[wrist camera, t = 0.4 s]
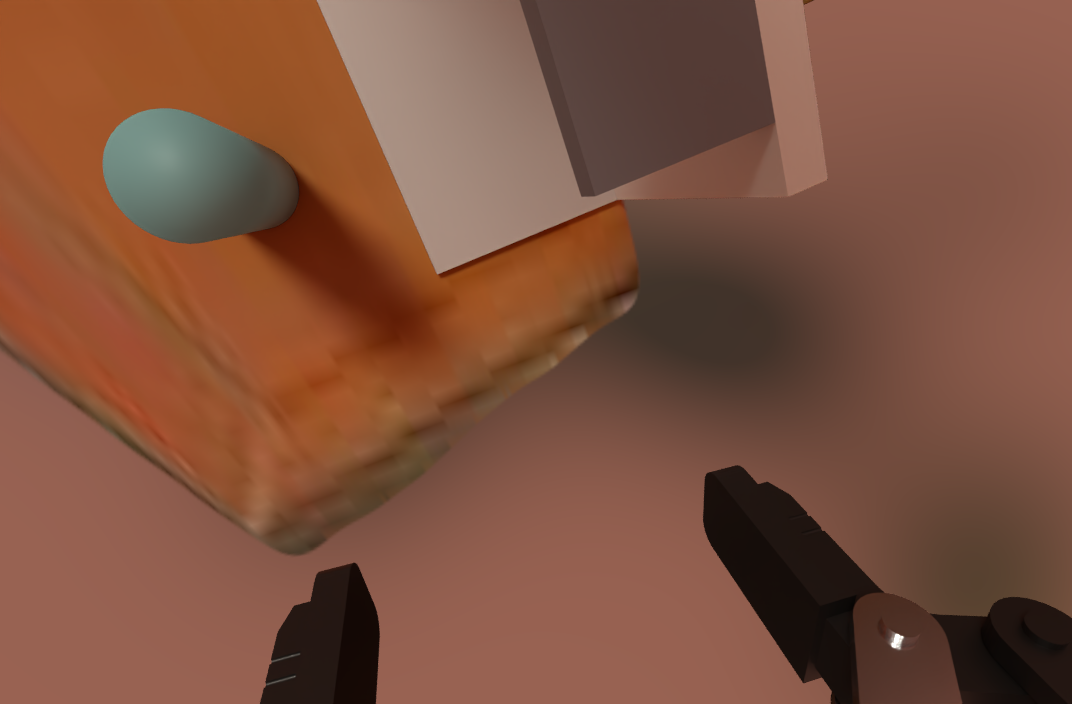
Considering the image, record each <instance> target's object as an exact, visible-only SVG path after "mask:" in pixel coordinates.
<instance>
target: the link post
mask: <svg viewBox="0 0 1072 704" xmlns="http://www.w3.org/2000/svg"><path fill="white" fill-rule="evenodd" d="M103 172H104V178H105V182H106V185H107V188H108V190H109V192H110V194H111V196H112V198H113V200H114V202H115V203H116V204H117V206H118V207H119V208H120V210H121V211H122V212H123V213H124V214H125V215H126V216H127V217H128V218H129V219H130V220H131V221H132V222H133V223H135V224H136V225H137V226H139V227H140V228H142V229H143V230H145V231H147V232H148V233H150V234H152V235H154V236H157V237H159V238H162V239H165V240H168V241H172V242H178V243H188V244H191V243H202V242H208V241H213V240H218V239H222V238H227V237H232V236H236V235H241V234H246V233H251V232H255V231H260V230H265V229H270V228H273V227H276V226H278V225H280V224H282V223H283V222H285V221H286V220H287V219H288V218H289V217H290V216H291V215H292V214H293V212H294V211H295V209H296V206H297V203H298V199H299V186H298V182H297V178H296V176H295V173H294V172H293V170H292V168H291V167H290V165H289V164H288V163H287V162H286V161H285V159H284V158H282V157H281V156H280V155H279V154H278V153H276V152H275V151H273V150H271V149H269V148H267V147H265V146H263V145H261V144H258V143H256V142H254V141H252V140H250V139H248V138H245V137H243V136H241V135H239V134H237V133H235V132H232V131H230V130H228V129H226V128H224V127H221V126H219V125H217V124H215V123H213V122H211V121H208V120H206V119H204V118H202V117H200V116H197V115H195V114H192V113H189V112H185V111H181V110H176V109H151V110H147V111H143V112H140V113H137V114H135V115H133V116H131V117H129V118H128V119H126V120H124V121H123V122H122V123H121V124H120V125H119V126H118V127H117V128H116V129H115V130H114V131H113V133H112V134H111V136H110V138H109V139H108V141H107V144H106V147H105V150H104V155H103Z"/></svg>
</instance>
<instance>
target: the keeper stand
mask: <svg viewBox="0 0 1072 704" xmlns="http://www.w3.org/2000/svg"><path fill="white" fill-rule="evenodd" d="M317 2H318V4H319V7H320V9H321V11H322V14H323V16H324V18H325V20H326V23H327V25H328V27H329V29H330V32H331V34H332V36H333V39H334V41H335V43H336V45H337V48H338V50H339V52H340V54H341V57H342V59H343V61H344V64H345V66H346V68H347V70H348V73H349V75H350V77H351V80H352V82H353V84H354V86H355V89H356V91H357V93H358V95H359V98H360V100H361V102H362V105H363V107H364V109H365V111H366V114H367V116H368V118H369V121H370V123H371V125H372V127H373V130H374V132H375V134H376V136H377V139H378V141H379V143H380V146H381V148H382V150H383V152H384V155H385V157H386V159H387V161H388V164H389V166H390V168H391V171H392V173H393V175H394V177H395V180H396V182H397V184H398V187H399V189H400V191H401V193H402V196H403V198H404V200H405V202H406V205H407V207H408V209H409V212H410V214H411V216H412V218H413V221H414V223H415V225H416V228H417V230H418V232H419V234H420V237H421V239H422V241H423V243H424V246H425V248H426V250H427V253H428V255H429V257H430V259H431V262H432V264H433V266H434V268H435V271H436V273H437V274H440V273H442V272H444V271H447V270H449V269H452V268H454V267H457V266H459V265H461V264H464V263H466V262H469V261H471V260H473V259H476V258H478V257H481V256H483V255H485V254H488V253H490V252H493V251H495V250H497V249H500V248H502V247H505V246H507V245H510V244H512V243H514V242H517V241H519V240H522V239H524V238H526V237H529V236H531V235H534V234H536V233H538V232H541V231H543V230H546V229H548V228H550V227H553V226H555V225H558V224H560V223H563V222H565V221H567V220H570V219H572V218H575V217H577V216H579V215H582V214H584V213H587V212H589V211H591V210H594V209H596V208H599V207H601V206H603V205H606V204H608V203H611V202H613V201H616V200H635V199H692V198H693V199H698V198H758V197H759V198H760V197H789V196H792V195H794V194H796V193H798V192H801V191H803V190H805V189H808V188H810V187H812V186H815V185H817V184H819V183H821V182H824V181H826V180H828V178H827V171H826V164H825V156H824V149H823V141H822V134H821V127H820V120H819V113H818V106H817V99H816V91H815V84H814V78H813V70H812V63H811V56H810V49H809V41H808V34H807V27H806V20H805V12H804V5H803V0H317Z"/></svg>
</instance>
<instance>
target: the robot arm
mask: <svg viewBox="0 0 1072 704" xmlns="http://www.w3.org/2000/svg"><path fill="white" fill-rule="evenodd" d="M703 523H704V528H705V532H706V535H707V537H708V540H709V542H710V544H711V546H712V547H713V549H714V550H715V552H716V553H717V555H718V556H719V558H720V559H721V561H722V562H723V564H724V565H725V567H726V568H727V570H728V571H729V573H730V574H731V576H732V577H733V579H734V580H735V582H736V583H737V585H738V586H739V588H740V589H741V591H742V592H743V594H744V595H745V597H746V598H747V600H748V601H749V602H750V604H751V606H752V607H753V609H754V610H755V612H756V613H757V615H758V616H759V618H760V619H761V621H762V622H763V624H764V625H765V627H766V628H767V630H768V631H769V632H770V634H771V636H772V637H773V638H774V640H775V641H776V643H777V645H778V646H779V648H780V649H781V650H782V652H783V654H784V655H785V657H786V658H787V659H788V661H789V662H790V664H791V665H792V667H793V668H794V670H795V671H796V673H797V674H798V676H799V677H800V679H801V680H802V682H803V683H806V682H809V681H812V680H815V679H818V678H821V677H822V678H823V679H824V681H825V682H826V683H827V685H828V686H829V688H830V689H831V691H832V694H831V704H1072V618H1071V617H1069V616H1068V615H1066V614H1065V613H1063V612H1061V611H1059V610H1057V609H1056V608H1053V607H1051V606H1049V605H1047V604H1044V603H1041V602H1038V601H1035V600H1031V599H1027V598H1020V597H1008V598H1003V599H1000V600H998V601H997V602H996V603H994V604H993V606H992V607H991V609H990V612H989V614H988V616H987V617H982V616H957V615H956V616H955V615H937V614H930V613H928V612H927V611H926V610H924V609H923V608H922V607H920V606H919V605H917V604H916V603H914V602H912V601H910V600H908V599H905V598H903V597H900V596H897V595H894V594H889V593H884V592H883V591H882V590H881V589H880V588H878V586H877V585H875V583H874V582H873V581H872V580H871V579H870V578H869V577H868V576H867V575H866V574H865V573H864V572H863V571H862V570H861V569H860V568H859V567H858V566H857V564H856V563H854V561H853V560H852V559H851V558H850V557H849V556H848V555H847V554H846V553H845V552H844V551H843V550H842V549H841V548H840V547H839V546H838V545H837V543H836V542H835V541H834V540H833V539H832V538H831V537H830V536H829V535H828V534H827V533H826V532H825V531H822V530H821V527H820V526H819V525H818V524H817V523H816V521H815V520H814V519H813V518H812V517H811V516H808V515H807V512H806V511H805V510H804V509H803V508H802V507H801V506H800V505H799V504H798V503H797V502H796V501H795V499H794V498H793V497H792V496H791V495H789V494H788V493H786V492H784V491H783V490H781V489H779V488H777V487H776V486H774V485H772V484H770V483H769V482H765V483H761V484H757V483H756V482H755V480H753V478H752V477H751V476H750V475H749V474H748V473H747V471H746V470H745V469H744V468H742V467H741V466H738V465H737V466H732V467H729V468H725V469H721V470H717V471H713V472H709V473H707V474H706V476H705V487H704V512H703ZM379 638H380V631H379V621H378V615H377V611H376V608H375V605H374V602H373V600H372V598H371V595H370V593H369V591H368V588H367V586H366V583H365V581H364V579H363V577H362V574H361V572H360V569H359V567H358V565H357V564H356V563H352V564H347V565H344V566H340V567H336V568H332V569H329V570H324V571H321V572H318V574H317V575H316V578H315V582H314V587H313V592H312V597H311V601H310V602H307V603H303V604H300V605H295V606H294V607H293V608H292V610H291V612H290V613H289V615H288V617H287V618H286V620H285V622H284V623H283V625H282V626H281V628H280V629H279V631H278V633H277V637H276V641H275V645H274V650H273V653H272V658H271V660H272V663H271V664H270V665H269V669H268V674H267V678H266V687H265V688H264V690H263V694H262V698H261V702H260V704H376V691H377V675H378V674H377V673H378V657H379Z"/></svg>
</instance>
